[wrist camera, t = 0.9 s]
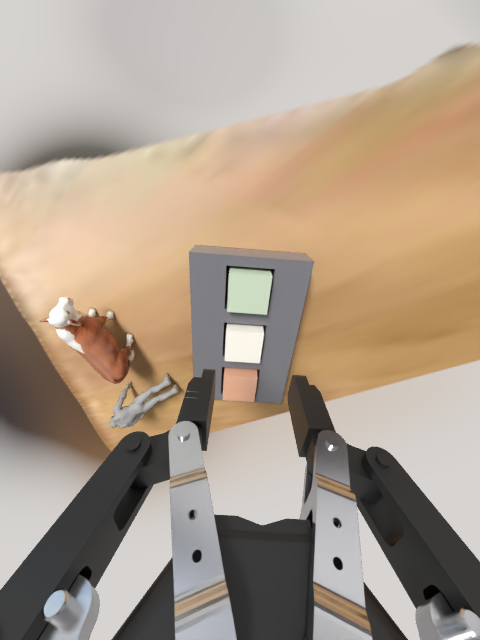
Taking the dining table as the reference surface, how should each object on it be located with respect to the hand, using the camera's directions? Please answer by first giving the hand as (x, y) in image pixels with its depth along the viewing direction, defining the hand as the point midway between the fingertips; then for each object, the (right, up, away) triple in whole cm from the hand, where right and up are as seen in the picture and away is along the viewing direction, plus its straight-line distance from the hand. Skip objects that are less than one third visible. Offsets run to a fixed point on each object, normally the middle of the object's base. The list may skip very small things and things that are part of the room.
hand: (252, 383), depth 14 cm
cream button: (0, +2, +18) cm, 19 cm away
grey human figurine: (-17, -8, +28) cm, 33 cm away
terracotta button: (-1, -5, +22) cm, 23 cm away
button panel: (0, +3, +21) cm, 21 cm away
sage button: (0, +8, +15) cm, 17 cm away
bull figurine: (-20, +4, +21) cm, 29 cm away
